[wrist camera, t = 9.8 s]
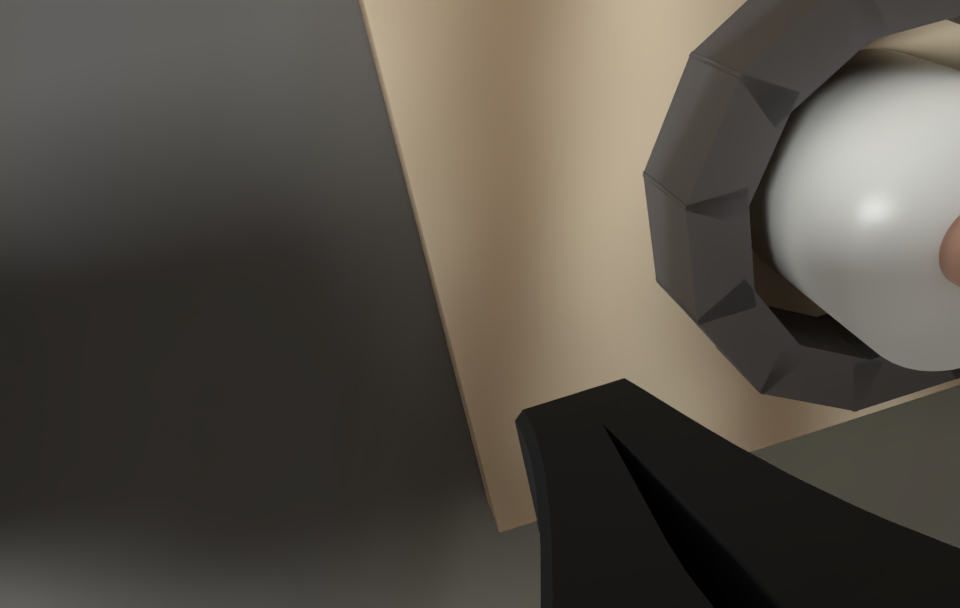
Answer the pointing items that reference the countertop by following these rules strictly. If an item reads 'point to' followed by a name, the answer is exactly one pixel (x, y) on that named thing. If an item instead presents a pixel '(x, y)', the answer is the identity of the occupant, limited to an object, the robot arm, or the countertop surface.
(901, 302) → the cap
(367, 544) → the countertop surface
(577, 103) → the board
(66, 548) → the countertop surface
